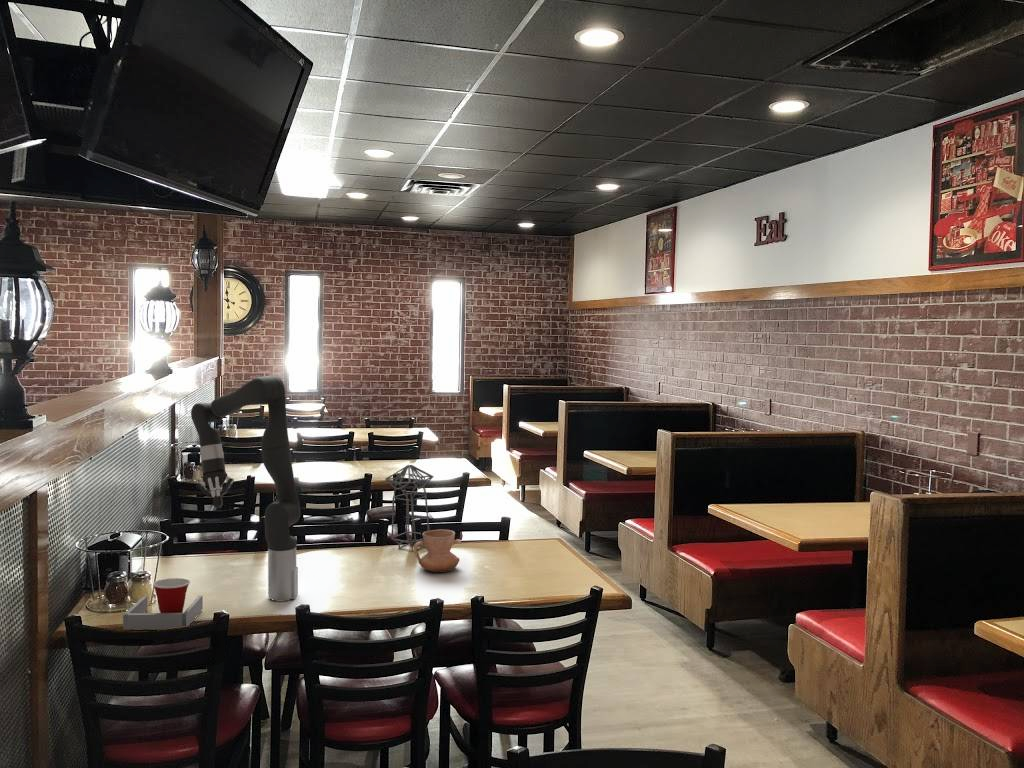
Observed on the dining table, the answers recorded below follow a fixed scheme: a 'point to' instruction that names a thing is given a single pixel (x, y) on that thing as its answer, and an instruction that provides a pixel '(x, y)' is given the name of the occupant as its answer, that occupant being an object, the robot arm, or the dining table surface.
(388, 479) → the geometric lantern
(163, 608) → the plastic cup
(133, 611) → the box
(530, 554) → the dining table surface
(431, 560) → the ceramic jug
